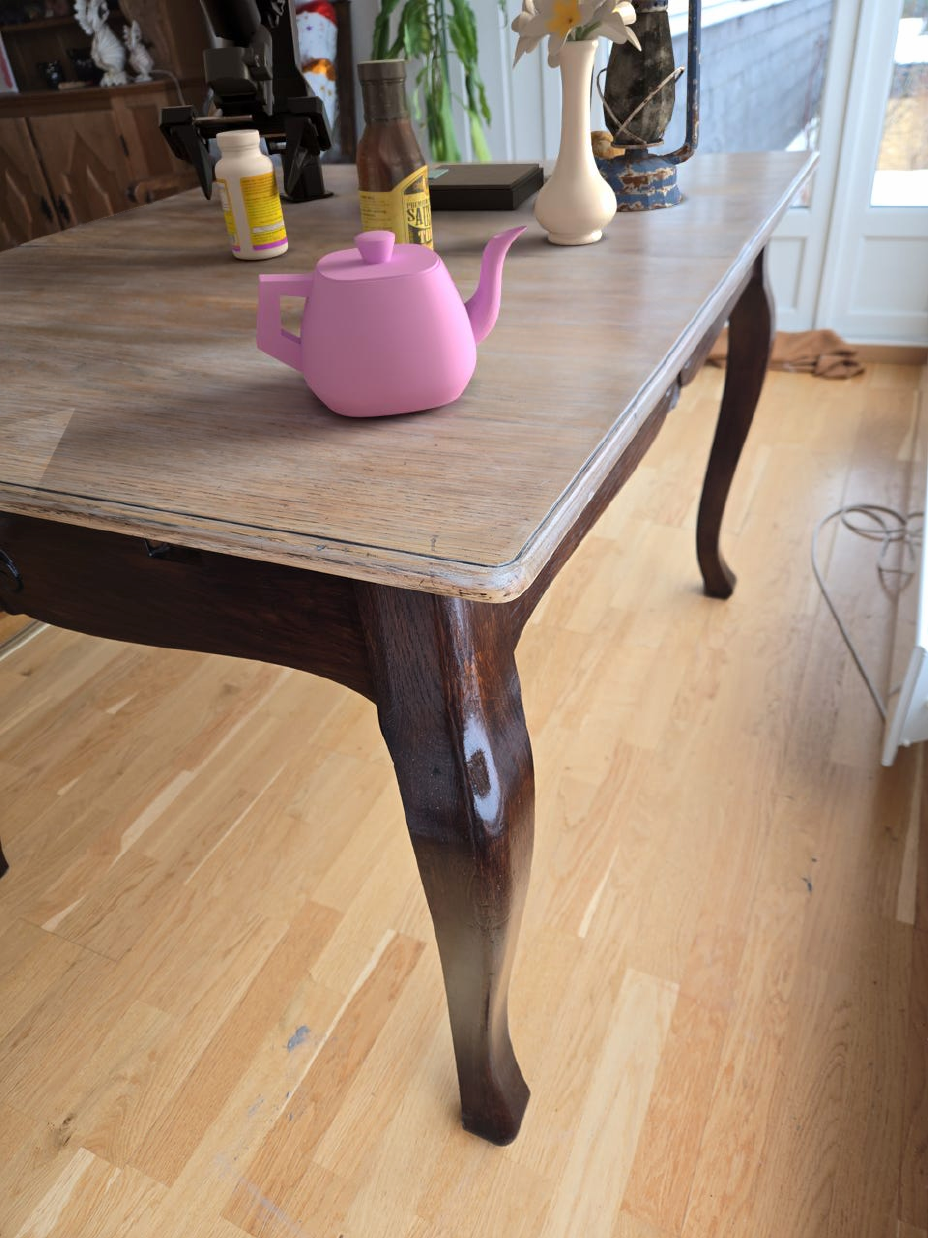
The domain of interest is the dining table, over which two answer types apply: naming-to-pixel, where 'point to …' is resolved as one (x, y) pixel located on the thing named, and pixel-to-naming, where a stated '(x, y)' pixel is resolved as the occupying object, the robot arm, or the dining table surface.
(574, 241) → the flower vase
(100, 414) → the dining table surface
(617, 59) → the lantern
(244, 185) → the supplement bottle
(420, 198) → the sauce bottle
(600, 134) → the bread roll
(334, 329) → the teapot
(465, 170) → the kitchen scale
